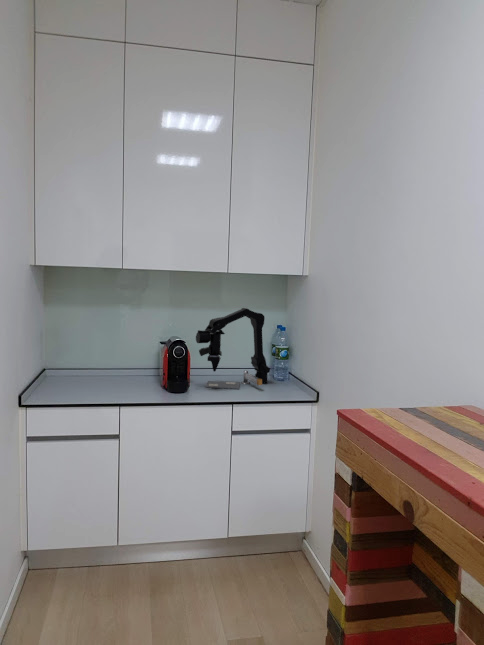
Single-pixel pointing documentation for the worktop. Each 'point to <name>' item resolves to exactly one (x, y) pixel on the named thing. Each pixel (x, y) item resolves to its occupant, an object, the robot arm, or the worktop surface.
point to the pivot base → (245, 383)
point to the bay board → (222, 385)
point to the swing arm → (251, 378)
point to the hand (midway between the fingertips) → (214, 371)
